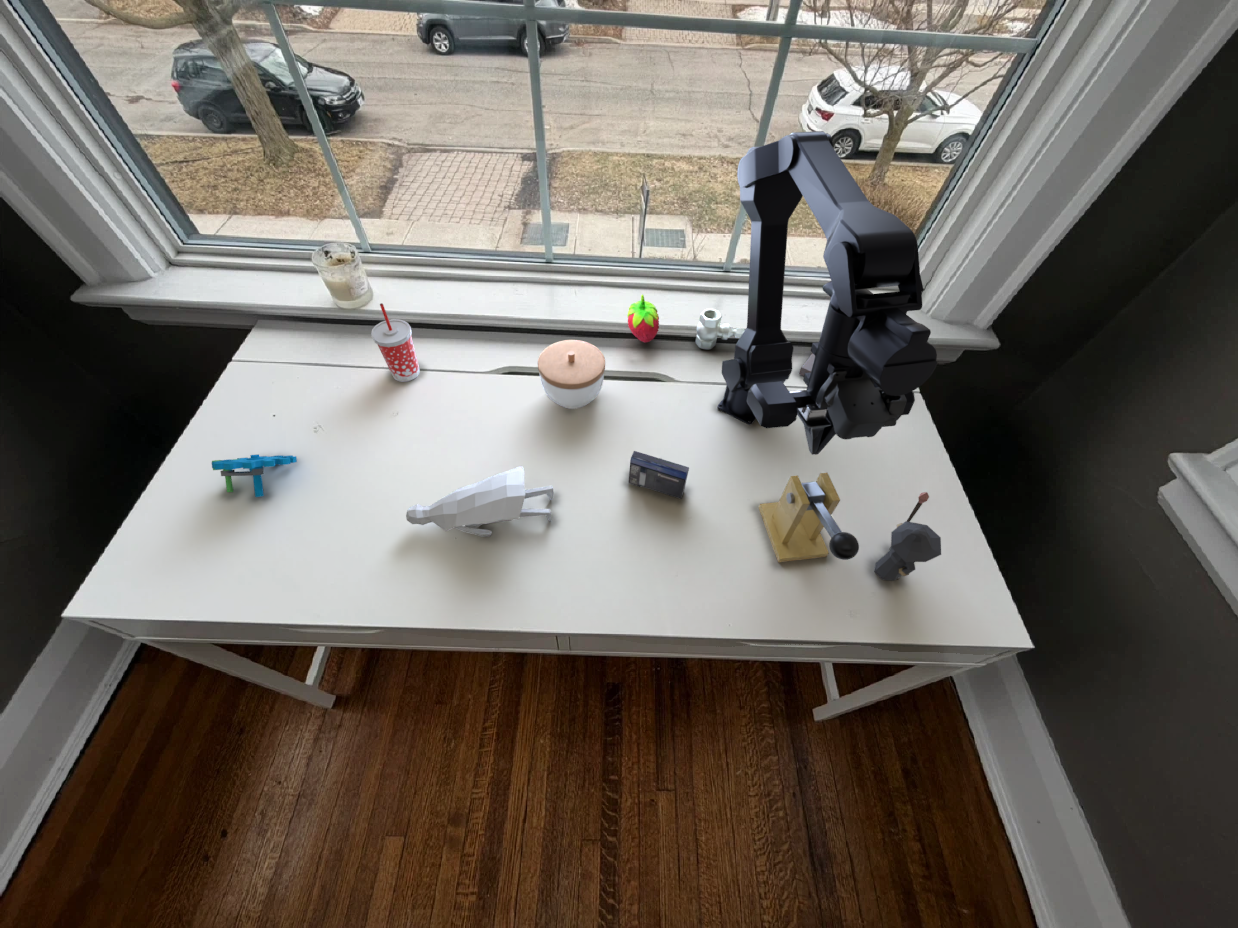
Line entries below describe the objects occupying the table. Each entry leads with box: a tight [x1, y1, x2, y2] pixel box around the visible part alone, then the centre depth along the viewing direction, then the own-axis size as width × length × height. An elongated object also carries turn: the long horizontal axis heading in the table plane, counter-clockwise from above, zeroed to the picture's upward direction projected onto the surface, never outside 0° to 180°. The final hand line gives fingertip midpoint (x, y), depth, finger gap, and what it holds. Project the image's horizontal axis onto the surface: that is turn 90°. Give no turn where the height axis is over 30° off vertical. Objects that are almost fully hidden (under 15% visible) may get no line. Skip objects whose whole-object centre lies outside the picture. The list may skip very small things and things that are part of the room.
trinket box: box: [537, 339, 606, 410], centre depth 89 cm, size 11×11×9 cm
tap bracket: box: [758, 472, 841, 563], centre depth 73 cm, size 9×7×11 cm
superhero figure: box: [405, 465, 554, 537], centre depth 74 cm, size 10×9×20 cm
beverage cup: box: [370, 303, 421, 383], centre depth 89 cm, size 6×6×14 cm
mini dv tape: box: [628, 450, 690, 500], centre depth 79 cm, size 8×2×6 cm, turn 70°
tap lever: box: [801, 481, 860, 561], centre depth 67 cm, size 12×3×3 cm, turn 8°
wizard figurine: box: [873, 491, 942, 581], centre depth 70 cm, size 8×6×12 cm
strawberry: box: [626, 294, 660, 343], centre depth 98 cm, size 6×7×10 cm
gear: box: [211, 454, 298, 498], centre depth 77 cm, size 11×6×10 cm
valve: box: [695, 308, 745, 350], centre depth 99 cm, size 7×7×12 cm
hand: (813, 452), depth 71 cm, fingers closed
